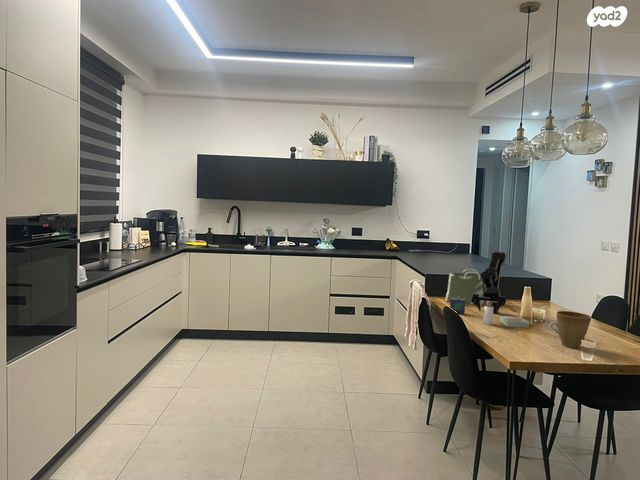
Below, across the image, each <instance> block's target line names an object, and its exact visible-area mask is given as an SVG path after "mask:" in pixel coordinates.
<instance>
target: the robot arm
mask: <svg viewBox="0 0 640 480" xmlns="http://www.w3.org/2000/svg"><path fill="white" fill-rule="evenodd" d="M507 258H508V255H507V253H506V252H504V251H493V252H491V260H490V263H489V264H488V265H489V266H488V267H487V268H486V269H485V270H484V271H482V272H481V280H482V283H483V297H480V296H479V294H472V296H471V302H472V303H473V304H475V305H474V306H476V308H477V310H478V311H479V312H481V305H480V300H484V301H486V303H487V301H492V306H493V307H494V310H493V315H494V314H495V315H496V314H498V315H499V314H500V312H499V310H500V308H501V307H503V306H506V302H507V297H506V296H503V295H501V292H500V289H499V285H500V280H501V279H500V278H501V273H502V266H503V265H504V264H505V263H506V260H507Z"/></svg>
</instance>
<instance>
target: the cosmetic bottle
mask: <svg viewBox="0 0 640 480" xmlns="http://www.w3.org/2000/svg"><path fill="white" fill-rule="evenodd" d="M483 306H484V307H483V318H482V324H483V325H486V326H492V325H493V323H494V322H493V319H494V313H493V310H494V307H493V306H492V301H487V303H486V306H485V305H483Z"/></svg>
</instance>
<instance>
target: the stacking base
mask: <svg viewBox="0 0 640 480" xmlns="http://www.w3.org/2000/svg"><path fill="white" fill-rule="evenodd" d="M521 317H522V316H511V315H510V316H507V315H500V317H499V318H500V319H499V320H500V322H501V323H502V324H504V325H505V326H506V327H511V328H512V327H513V328H525V329H526V328H527V329H528V328H530V323H531V322H530V321H528V320H527V319H525V318H524V319H522V318H523V317H522V318H521Z"/></svg>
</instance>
